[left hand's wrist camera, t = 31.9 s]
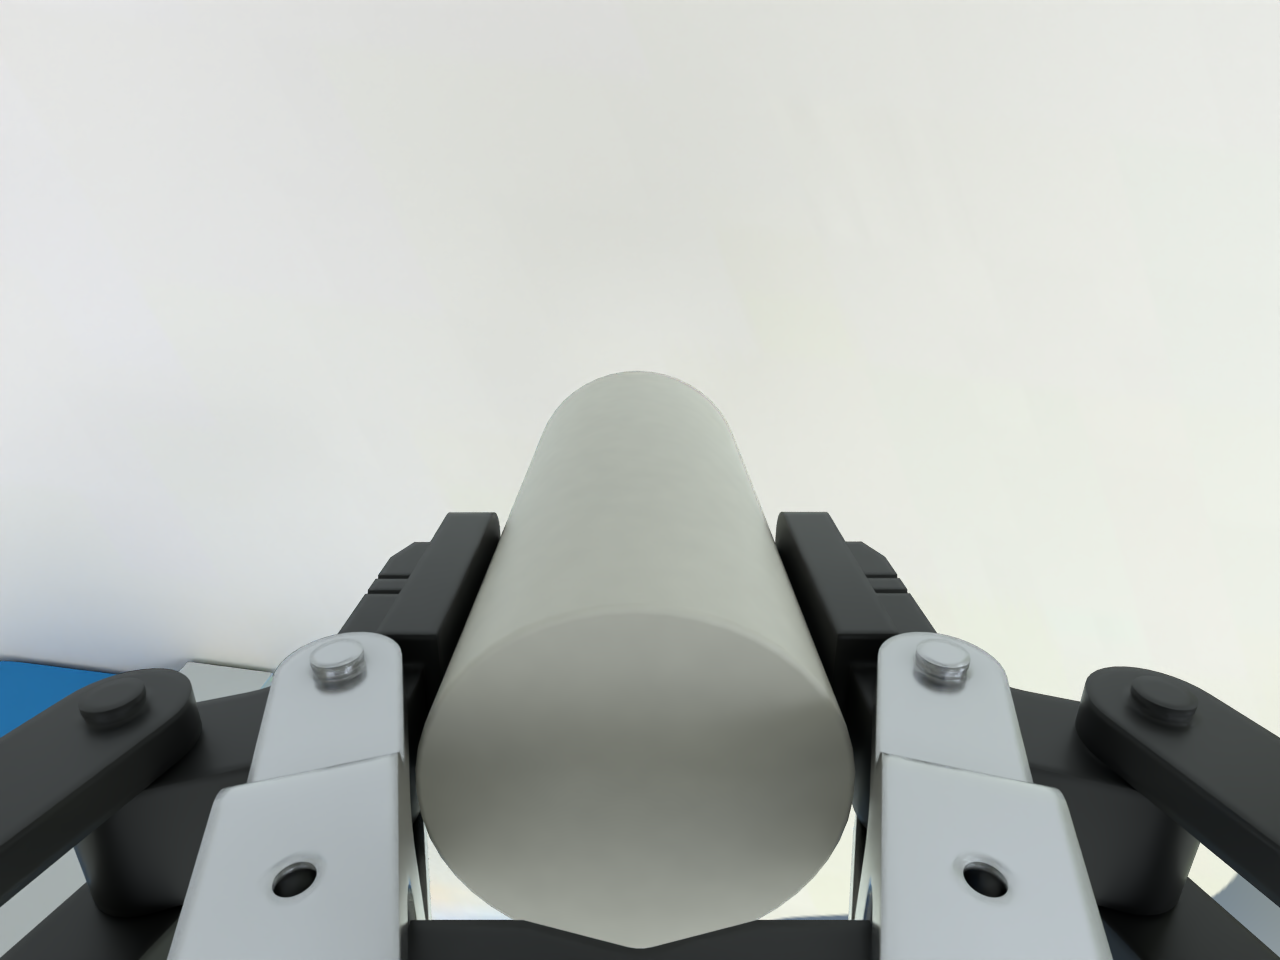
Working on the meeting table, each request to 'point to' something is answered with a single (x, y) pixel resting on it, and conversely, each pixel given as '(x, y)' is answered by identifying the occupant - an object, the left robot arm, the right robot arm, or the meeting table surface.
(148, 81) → the meeting table surface
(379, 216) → the meeting table surface
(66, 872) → the logo
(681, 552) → the cylinder
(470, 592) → the left robot arm
